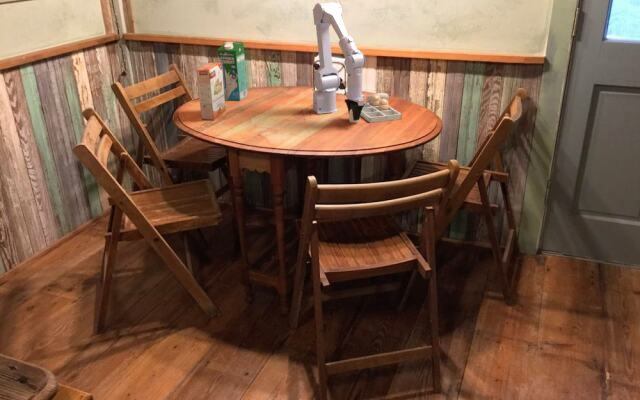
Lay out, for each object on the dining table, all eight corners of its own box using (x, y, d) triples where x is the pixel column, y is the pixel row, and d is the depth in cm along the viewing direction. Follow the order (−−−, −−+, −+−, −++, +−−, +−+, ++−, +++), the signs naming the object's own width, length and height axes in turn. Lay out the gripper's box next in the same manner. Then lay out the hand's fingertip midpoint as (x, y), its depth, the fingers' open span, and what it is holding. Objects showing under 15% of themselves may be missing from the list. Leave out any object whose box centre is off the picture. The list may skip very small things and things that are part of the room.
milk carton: (221, 99, 253) (216, 44, 242) (230, 94, 260) (225, 41, 249) (239, 101, 250) (235, 45, 239) (247, 95, 258) (243, 41, 247)
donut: (392, 92, 240) (381, 91, 232) (393, 100, 240) (382, 99, 232) (372, 97, 246) (361, 96, 238) (373, 104, 246) (362, 104, 238)
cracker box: (214, 120, 225) (209, 69, 215) (201, 119, 226) (195, 69, 217) (226, 110, 237) (222, 62, 228) (213, 110, 238) (208, 61, 229)
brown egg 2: (380, 114, 226) (381, 100, 224) (376, 112, 230) (377, 98, 227) (389, 113, 227) (390, 99, 225) (385, 111, 231) (386, 97, 228)
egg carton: (369, 123, 217) (370, 117, 216) (351, 110, 235) (351, 104, 234) (401, 120, 221) (401, 114, 220) (381, 106, 238) (381, 101, 237)
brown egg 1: (374, 110, 232) (374, 97, 229) (369, 107, 235) (369, 94, 232) (382, 108, 233) (382, 95, 230) (377, 105, 237) (377, 92, 233)
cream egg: (351, 124, 217) (351, 109, 215) (347, 121, 221) (347, 107, 218) (360, 123, 218) (360, 108, 216) (357, 120, 222) (357, 106, 219)
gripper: (371, 88, 208) (370, 122, 214) (357, 79, 220) (357, 112, 226) (354, 90, 206) (353, 124, 212) (341, 81, 218) (341, 114, 224)
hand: (354, 118), depth 219 cm, fingers closed on cream egg, 4 cm apart
